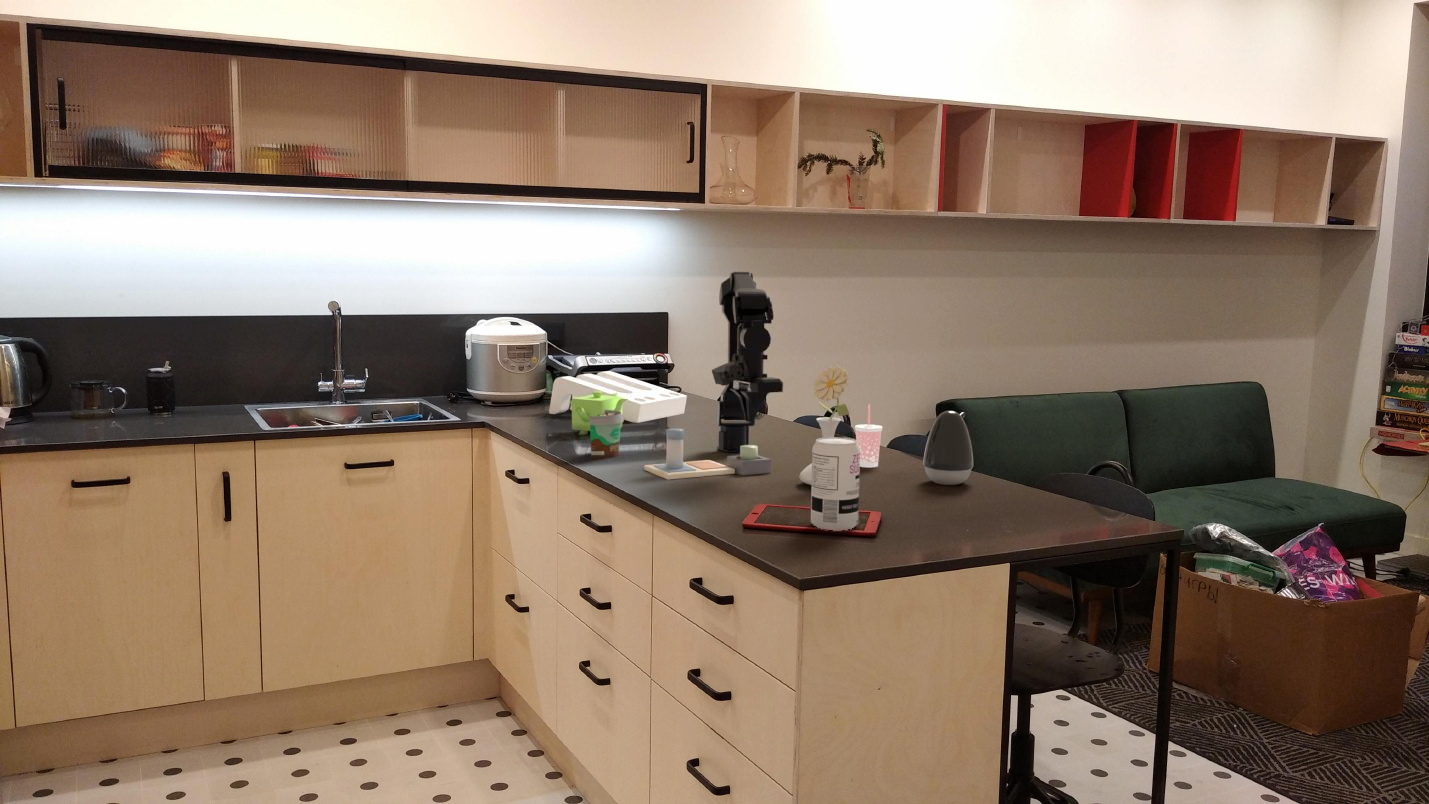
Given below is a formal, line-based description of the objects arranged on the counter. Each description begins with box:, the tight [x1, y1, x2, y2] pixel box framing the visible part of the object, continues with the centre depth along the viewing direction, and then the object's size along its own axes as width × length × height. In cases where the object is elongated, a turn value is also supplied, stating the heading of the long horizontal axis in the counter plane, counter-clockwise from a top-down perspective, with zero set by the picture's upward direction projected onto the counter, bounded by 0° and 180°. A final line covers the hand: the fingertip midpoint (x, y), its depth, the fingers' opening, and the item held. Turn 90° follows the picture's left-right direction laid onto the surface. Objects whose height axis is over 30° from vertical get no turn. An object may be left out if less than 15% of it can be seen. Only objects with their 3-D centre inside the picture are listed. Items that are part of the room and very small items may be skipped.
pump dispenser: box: [922, 410, 974, 486], centre depth 226 cm, size 10×10×15 cm
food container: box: [589, 410, 625, 459], centre depth 254 cm, size 12×6×10 cm, turn 168°
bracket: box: [548, 370, 688, 423], centre depth 326 cm, size 24×12×32 cm
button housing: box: [726, 454, 772, 476], centre depth 236 cm, size 7×7×3 cm
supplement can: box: [810, 436, 861, 532], centre depth 187 cm, size 8×8×15 cm
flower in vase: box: [798, 365, 851, 486], centre depth 220 cm, size 13×11×25 cm
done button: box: [739, 444, 759, 460], centre depth 236 cm, size 4×4×4 cm
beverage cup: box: [854, 403, 883, 468], centre depth 244 cm, size 6×6×14 cm
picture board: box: [643, 459, 736, 480], centre depth 235 cm, size 16×12×1 cm
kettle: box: [569, 391, 628, 436], centre depth 287 cm, size 15×14×11 cm
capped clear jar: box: [665, 427, 685, 469], centre depth 233 cm, size 4×4×8 cm
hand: (749, 421), depth 235 cm, fingers closed
